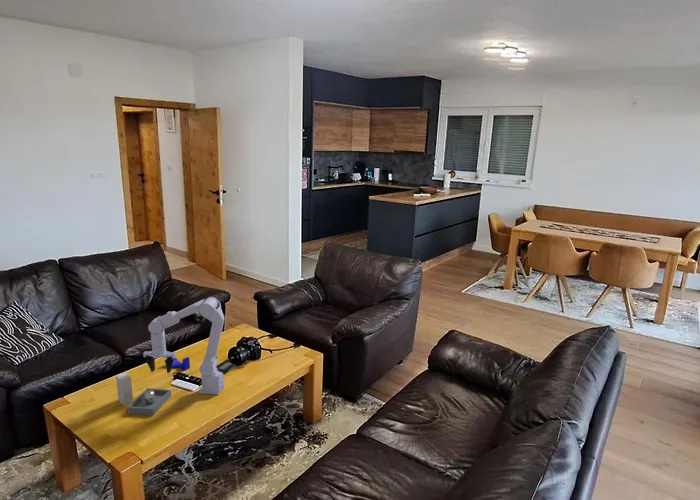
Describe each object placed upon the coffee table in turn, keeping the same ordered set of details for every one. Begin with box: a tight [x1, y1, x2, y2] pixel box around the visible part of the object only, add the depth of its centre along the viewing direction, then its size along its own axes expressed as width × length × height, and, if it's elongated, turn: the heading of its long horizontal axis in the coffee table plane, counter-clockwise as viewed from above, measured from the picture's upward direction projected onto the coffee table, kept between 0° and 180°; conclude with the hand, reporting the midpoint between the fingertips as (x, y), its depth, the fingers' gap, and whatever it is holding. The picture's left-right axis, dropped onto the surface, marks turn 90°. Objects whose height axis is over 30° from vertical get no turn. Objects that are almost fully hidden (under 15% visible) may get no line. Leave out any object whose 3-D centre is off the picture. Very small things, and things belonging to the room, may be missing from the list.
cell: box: [143, 390, 155, 405], centre depth 195 cm, size 4×4×6 cm
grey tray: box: [127, 387, 172, 416], centre depth 195 cm, size 11×15×3 cm
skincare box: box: [115, 372, 134, 406], centre depth 196 cm, size 6×4×12 cm
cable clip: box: [171, 351, 191, 371], centre depth 228 cm, size 12×4×6 cm, turn 62°
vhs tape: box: [216, 358, 237, 376], centre depth 228 cm, size 8×14×2 cm, turn 156°
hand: (161, 371), depth 205 cm, fingers open, 7 cm apart
